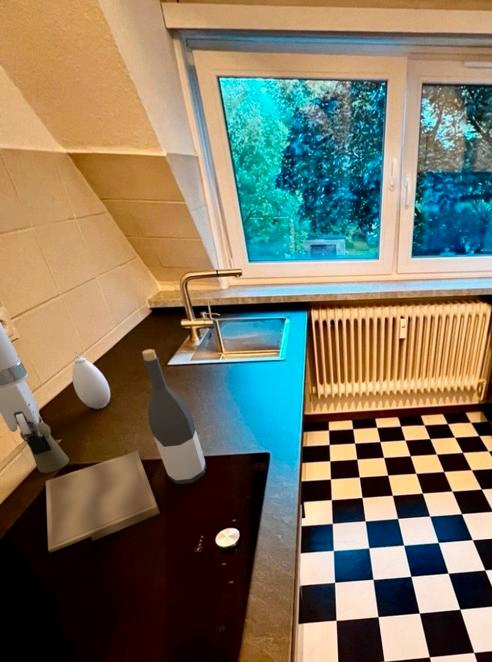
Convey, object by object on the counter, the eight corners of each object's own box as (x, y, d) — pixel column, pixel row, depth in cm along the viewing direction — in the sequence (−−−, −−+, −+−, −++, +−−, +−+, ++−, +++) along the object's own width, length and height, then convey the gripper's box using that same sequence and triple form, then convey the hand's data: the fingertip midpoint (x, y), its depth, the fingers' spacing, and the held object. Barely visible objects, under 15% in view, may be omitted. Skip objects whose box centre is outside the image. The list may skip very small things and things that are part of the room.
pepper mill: (70, 453, 94) (50, 415, 88) (67, 468, 90) (45, 429, 84) (40, 460, 92) (18, 422, 86) (36, 475, 87) (11, 436, 81)
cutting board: (53, 557, 69) (47, 550, 68) (49, 487, 84) (45, 480, 83) (160, 513, 78) (157, 506, 77) (139, 457, 93) (137, 450, 92)
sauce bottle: (80, 407, 112) (53, 350, 102) (109, 397, 117) (86, 341, 107) (91, 417, 108) (63, 358, 98) (120, 406, 113) (97, 348, 103)
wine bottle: (211, 477, 87) (175, 353, 70) (173, 490, 83) (126, 364, 67) (202, 458, 92) (167, 339, 76) (166, 469, 89) (121, 348, 73)
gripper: (-18, 363, 82) (23, 433, 92) (-27, 396, 70) (21, 472, 80) (25, 355, 85) (60, 422, 95) (24, 384, 74) (64, 458, 84)
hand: (42, 444), depth 88 cm, fingers closed on pepper mill, 5 cm apart
